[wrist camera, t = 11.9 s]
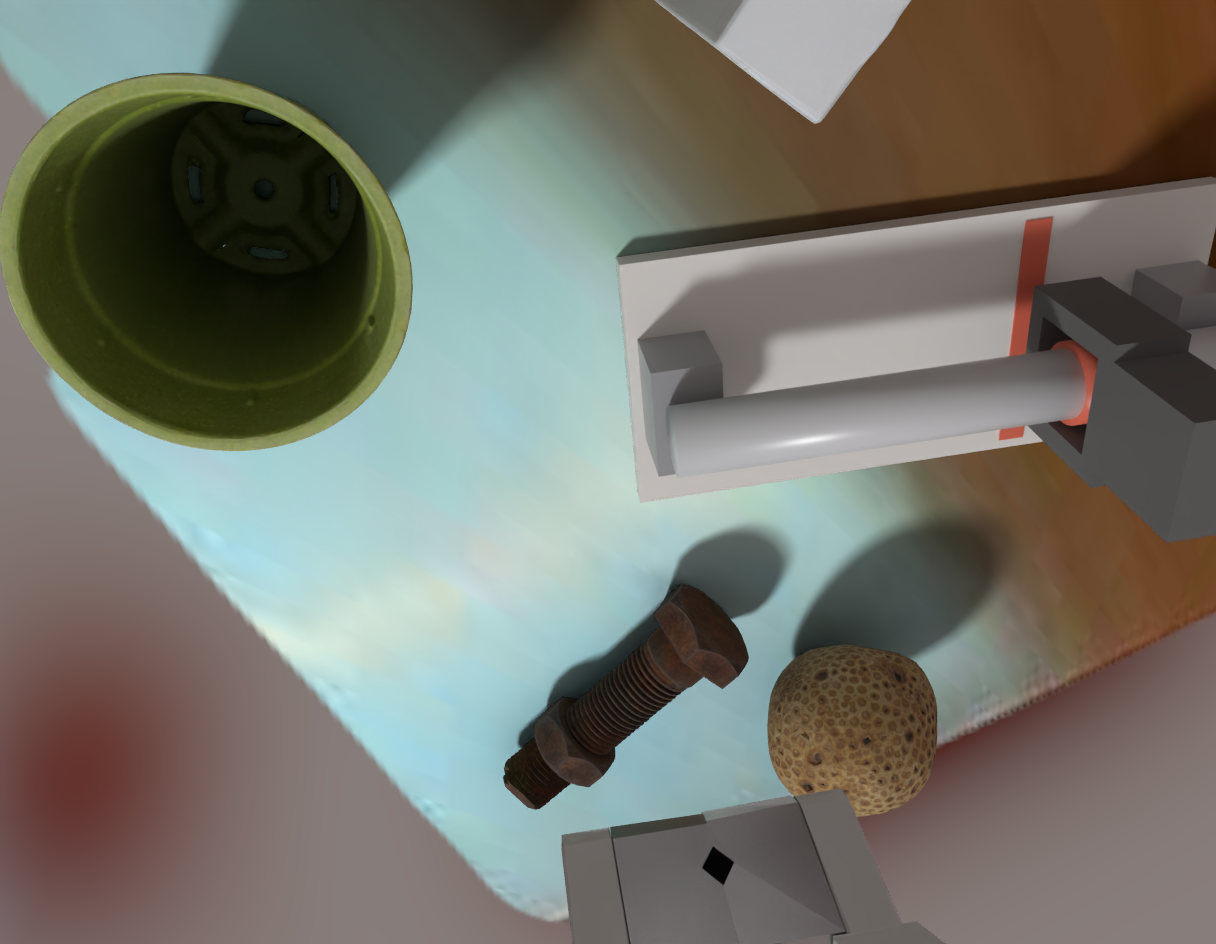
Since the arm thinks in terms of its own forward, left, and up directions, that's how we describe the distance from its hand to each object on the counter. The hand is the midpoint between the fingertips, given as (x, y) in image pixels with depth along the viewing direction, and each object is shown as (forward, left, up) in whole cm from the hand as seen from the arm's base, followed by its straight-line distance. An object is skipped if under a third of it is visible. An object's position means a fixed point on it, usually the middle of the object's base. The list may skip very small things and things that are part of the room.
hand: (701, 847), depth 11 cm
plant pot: (+1, -10, -35) cm, 37 cm away
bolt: (+30, +1, -36) cm, 46 cm away
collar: (+12, +23, -32) cm, 41 cm away
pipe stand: (+12, +17, -35) cm, 41 cm away
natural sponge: (+31, +13, -35) cm, 49 cm away
